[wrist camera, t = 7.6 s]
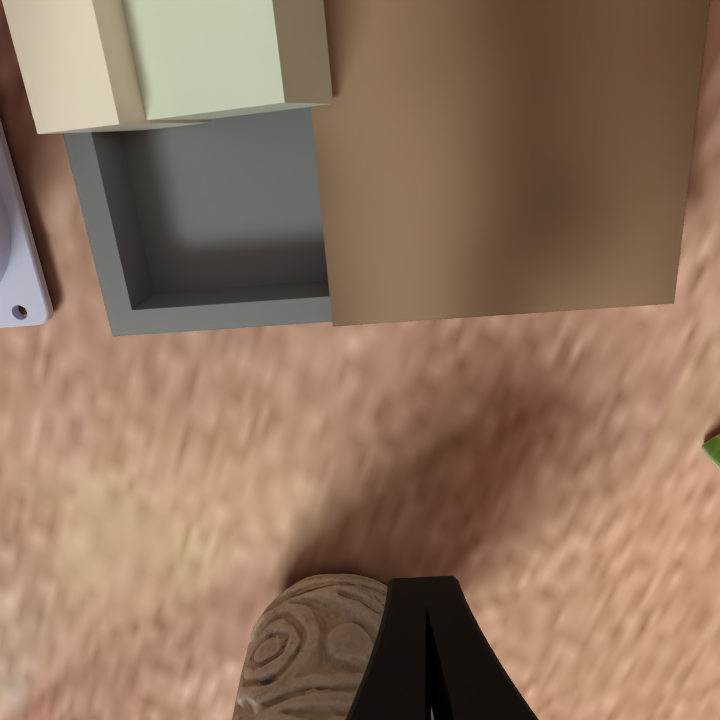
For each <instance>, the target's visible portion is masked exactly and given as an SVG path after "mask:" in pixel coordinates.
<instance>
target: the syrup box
mask: <svg viewBox="0 0 720 720" xmlns="http://www.w3.org/2000/svg"><path fill="white" fill-rule="evenodd" d="M702 449H703V450H704V452H705V453H706V454H707V455H708V456H709V458H710V459H711V460H712V461H713V463H714V464H715V465H716V466H717V467H718V468H719V469H720V433H719V434H718V435H716V436H715V437H713V438H711V439H710V440H708V441H707V442H705V443H704V444H703V445H702Z"/></svg>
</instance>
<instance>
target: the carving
mask: <svg viewBox="0 0 720 720" xmlns="http://www.w3.org/2000/svg"><path fill="white" fill-rule="evenodd" d="M386 596H387V586H386V585H384V584H382V583H380V582H378V581H376V580H374V579H372V578H369V577H365V576H361V575H355V574H320V575H314V576H310V577H307V578H305V579H303V580H301V581H299V582H297V583H296V584H294V585H292V586H291V587H289V588H287V589H286V590H285V591H283V592H282V593H281V594H280V595H279V596H278V597H277V598H276V599H275V600H274V601H273V602H272V603H271V604H270V605H269V606H268V607H267V608H266V609H265V611H264V613H263V614H262V616H261V617H260V618H259V619H258V621H257V623H256V625H255V626H254V628H253V631H252V634H251V640H252V642H250V644H249V646H248V649H247V654H246V658H245V661H244V665H243V669H242V673H241V678H240V682H239V687H238V692H237V697H236V702H235V707H234V712H233V718H232V720H345V719H346V717H347V715H348V712H349V710H350V708H351V705H352V703H353V700H354V698H355V696H356V693H357V691H358V688H359V686H360V683H361V681H362V678H363V676H364V673H365V670H366V668H367V665H368V662H369V659H370V656H371V653H372V650H373V647H374V644H375V641H376V638H377V635H378V631H379V627H380V624H381V620H382V616H383V612H384V607H385V602H386ZM431 720H434V718H433V712H432V707H431Z"/></svg>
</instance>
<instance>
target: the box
mask: <svg viewBox="0 0 720 720" xmlns="http://www.w3.org/2000/svg"><path fill="white" fill-rule="evenodd" d="M63 136H64V140H65V144H66V148H67V152H68V156H69V160H70V164H71V169H72V173H73V177H74V181H75V185H76V189H77V193H78V197H79V201H80V205H81V209H82V214H83V218H84V222H85V226H86V230H87V234H88V238H89V242H90V246H91V250H92V254H93V259H94V263H95V267H96V271H97V275H98V279H99V283H100V287H101V291H102V295H103V299H104V303H105V308H106V312H107V316H108V320H109V324H110V328H111V332H112V336H127V335H142V334H156V333H171V332H186V331H201V330H215V329H230V328H245V327H260V326H274V325H289V324H304V323H318V322H332V314H331V304H330V294H329V284H328V274H327V264H326V254H325V244H324V234H323V224H322V214H321V204H320V194H319V184H318V174H317V164H316V154H315V144H314V134H313V124H312V114H311V107H304V108H296V109H288V110H280V111H272V112H263V113H255V114H247V115H239V116H231V117H223V118H215V119H211V123H203V124H194V125H185V126H176V127H167V128H159V129H150V130H141V131H112V132H83V133H63Z"/></svg>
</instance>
